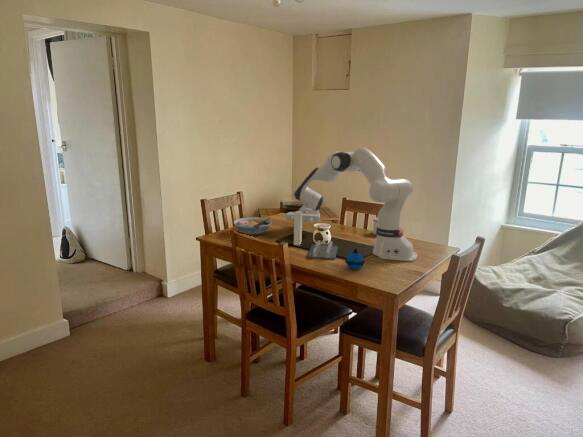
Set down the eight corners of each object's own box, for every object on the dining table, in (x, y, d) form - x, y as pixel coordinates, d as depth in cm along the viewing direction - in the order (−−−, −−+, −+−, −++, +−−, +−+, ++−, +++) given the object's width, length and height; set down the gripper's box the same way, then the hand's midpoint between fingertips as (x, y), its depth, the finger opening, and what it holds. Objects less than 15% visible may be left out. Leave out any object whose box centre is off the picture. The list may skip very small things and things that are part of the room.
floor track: (312, 246, 237) (312, 240, 236) (337, 247, 235) (338, 241, 234) (306, 257, 218) (306, 251, 217) (334, 259, 216) (335, 253, 215)
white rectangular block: (295, 242, 244) (295, 211, 239) (301, 242, 243) (302, 211, 239) (293, 245, 239) (294, 213, 234) (300, 245, 238) (300, 213, 234)
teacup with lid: (381, 236, 258) (382, 217, 255) (369, 233, 264) (370, 214, 261) (393, 233, 265) (395, 214, 263) (381, 230, 272) (382, 211, 269)
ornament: (352, 264, 209) (353, 245, 207) (367, 269, 204) (368, 249, 201) (341, 269, 203) (342, 248, 201) (356, 274, 197) (357, 253, 195)
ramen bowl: (243, 226, 274) (243, 214, 272) (278, 230, 267) (278, 217, 265) (226, 237, 251) (225, 223, 249) (262, 241, 244) (263, 227, 242)
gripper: (288, 208, 264) (283, 213, 251) (321, 210, 261) (318, 215, 248) (287, 218, 266) (283, 224, 253) (321, 220, 262) (318, 226, 249)
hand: (301, 220), depth 250 cm, fingers open, 8 cm apart
